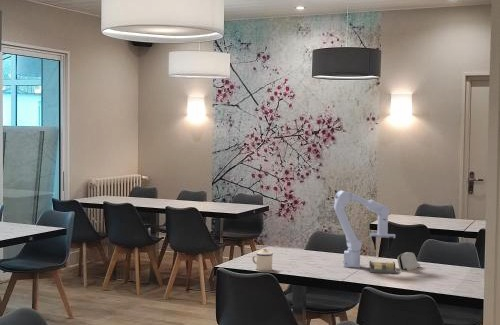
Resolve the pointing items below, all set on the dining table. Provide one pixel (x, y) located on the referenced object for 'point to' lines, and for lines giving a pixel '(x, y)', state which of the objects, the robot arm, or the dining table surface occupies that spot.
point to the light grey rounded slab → (407, 261)
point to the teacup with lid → (263, 260)
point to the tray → (382, 270)
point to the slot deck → (379, 263)
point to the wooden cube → (377, 266)
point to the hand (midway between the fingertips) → (381, 249)
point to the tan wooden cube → (389, 266)
